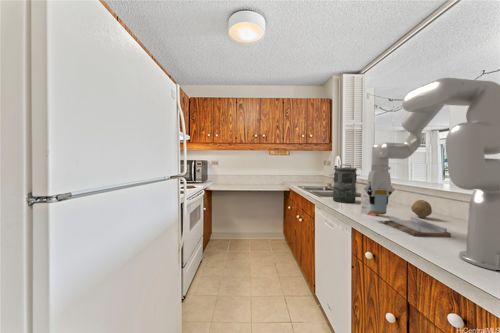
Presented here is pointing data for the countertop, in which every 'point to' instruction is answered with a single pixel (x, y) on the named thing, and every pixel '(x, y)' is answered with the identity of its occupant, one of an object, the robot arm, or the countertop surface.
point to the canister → (344, 184)
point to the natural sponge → (421, 208)
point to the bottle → (380, 200)
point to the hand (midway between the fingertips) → (378, 203)
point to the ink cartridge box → (366, 204)
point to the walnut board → (415, 233)
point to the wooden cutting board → (419, 225)
